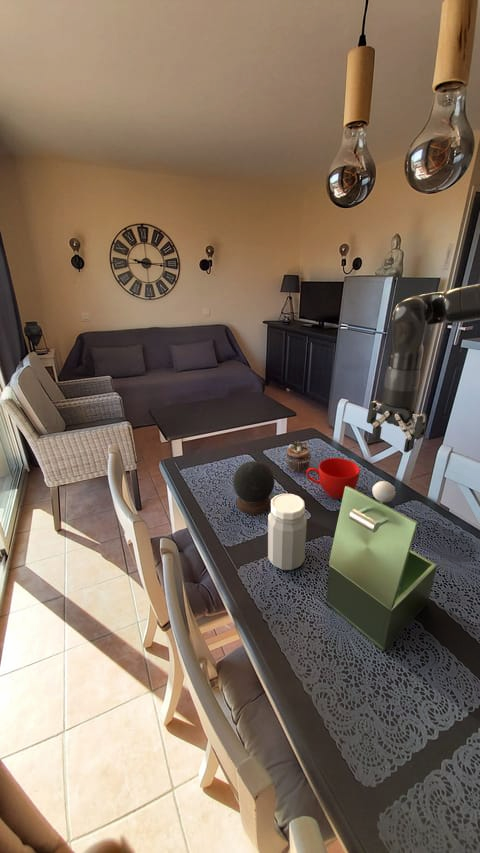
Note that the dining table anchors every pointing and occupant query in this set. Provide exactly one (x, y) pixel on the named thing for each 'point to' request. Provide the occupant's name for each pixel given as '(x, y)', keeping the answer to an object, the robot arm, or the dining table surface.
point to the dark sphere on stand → (253, 487)
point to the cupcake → (298, 457)
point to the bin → (372, 613)
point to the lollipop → (383, 491)
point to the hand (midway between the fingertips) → (391, 445)
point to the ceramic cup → (336, 476)
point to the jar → (287, 532)
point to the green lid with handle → (372, 545)
